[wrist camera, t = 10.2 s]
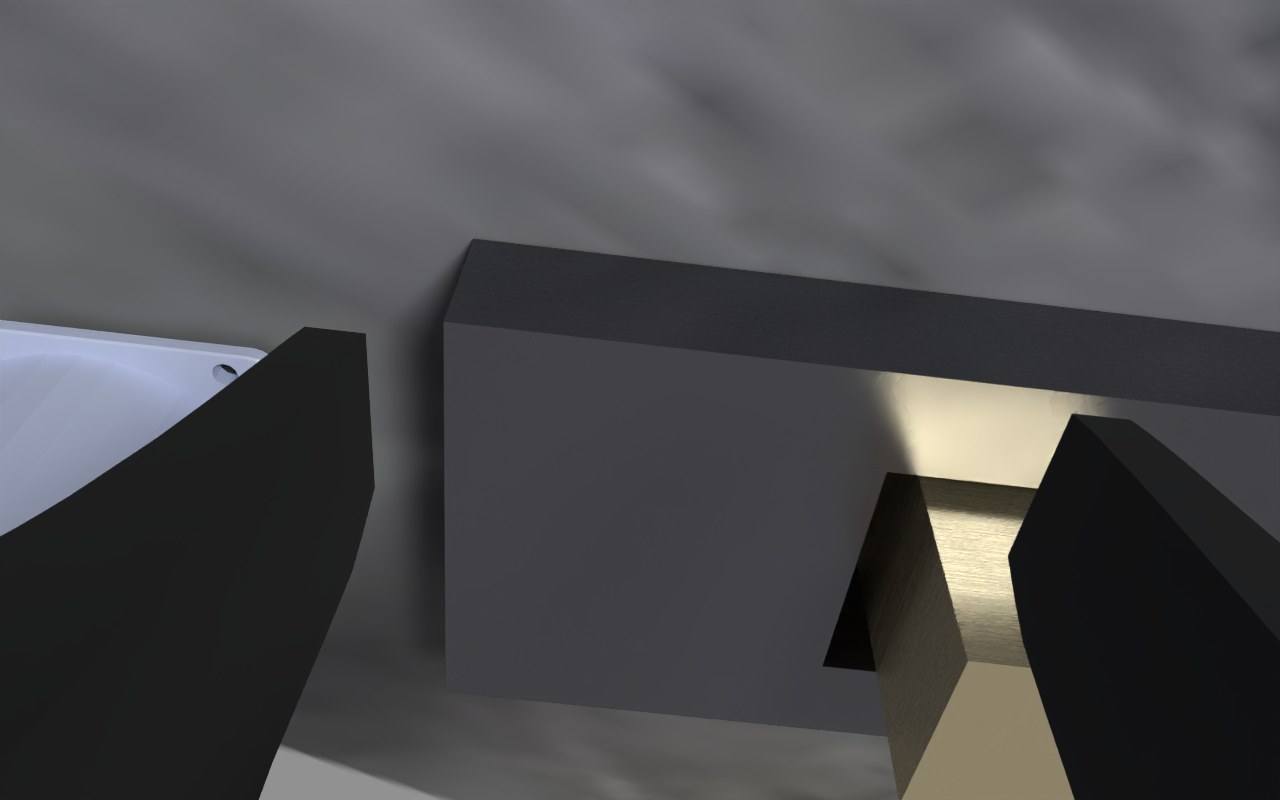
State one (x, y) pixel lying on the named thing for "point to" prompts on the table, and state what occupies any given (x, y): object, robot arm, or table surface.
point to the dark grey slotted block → (762, 463)
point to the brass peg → (954, 643)
